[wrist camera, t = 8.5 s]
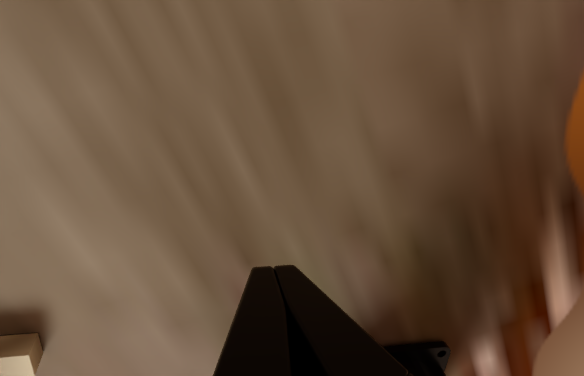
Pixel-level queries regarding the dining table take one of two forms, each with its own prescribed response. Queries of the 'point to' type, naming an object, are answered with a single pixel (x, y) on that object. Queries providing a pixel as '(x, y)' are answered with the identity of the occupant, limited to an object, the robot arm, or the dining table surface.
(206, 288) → the dining table surface
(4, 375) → the frame
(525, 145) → the dining table surface
